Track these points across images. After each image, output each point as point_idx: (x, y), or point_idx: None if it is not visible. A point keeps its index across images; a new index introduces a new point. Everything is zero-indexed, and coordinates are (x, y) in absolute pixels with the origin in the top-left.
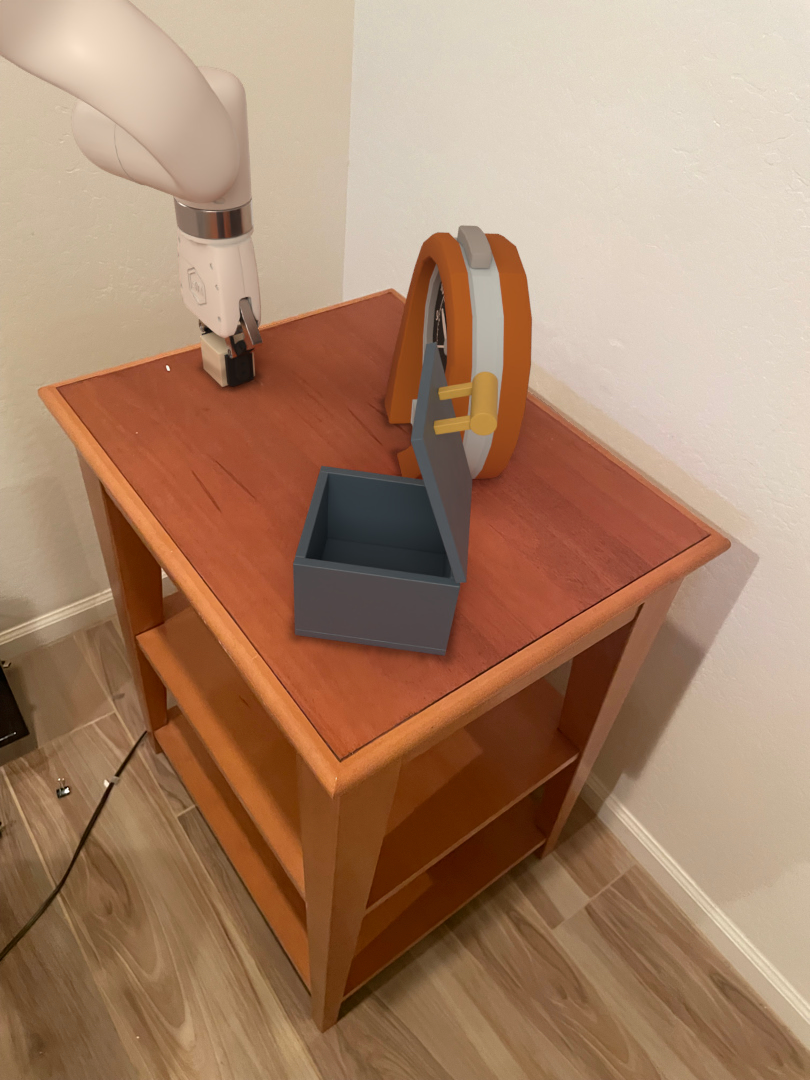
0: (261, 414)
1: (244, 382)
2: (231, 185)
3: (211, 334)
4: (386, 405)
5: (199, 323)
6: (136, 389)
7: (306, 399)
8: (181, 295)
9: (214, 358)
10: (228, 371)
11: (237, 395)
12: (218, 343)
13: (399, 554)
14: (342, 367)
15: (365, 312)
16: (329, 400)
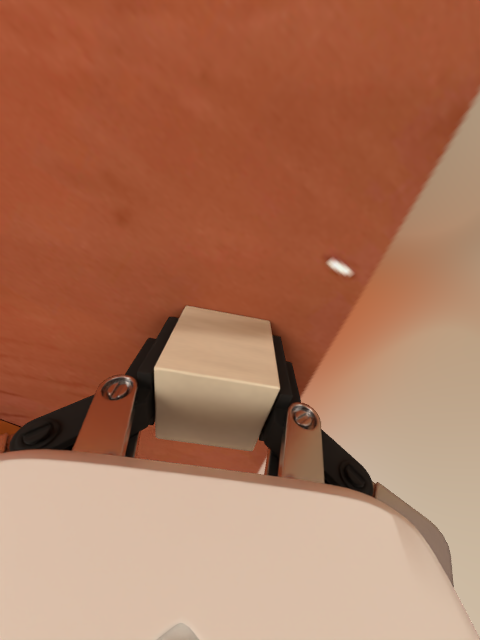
0: (51, 298)
1: None
2: None
3: (260, 409)
4: (5, 427)
5: (316, 424)
6: (345, 109)
7: (71, 376)
8: (432, 562)
9: (195, 349)
10: (156, 340)
11: (141, 307)
12: (205, 396)
13: None
14: None
15: None
16: (55, 393)
